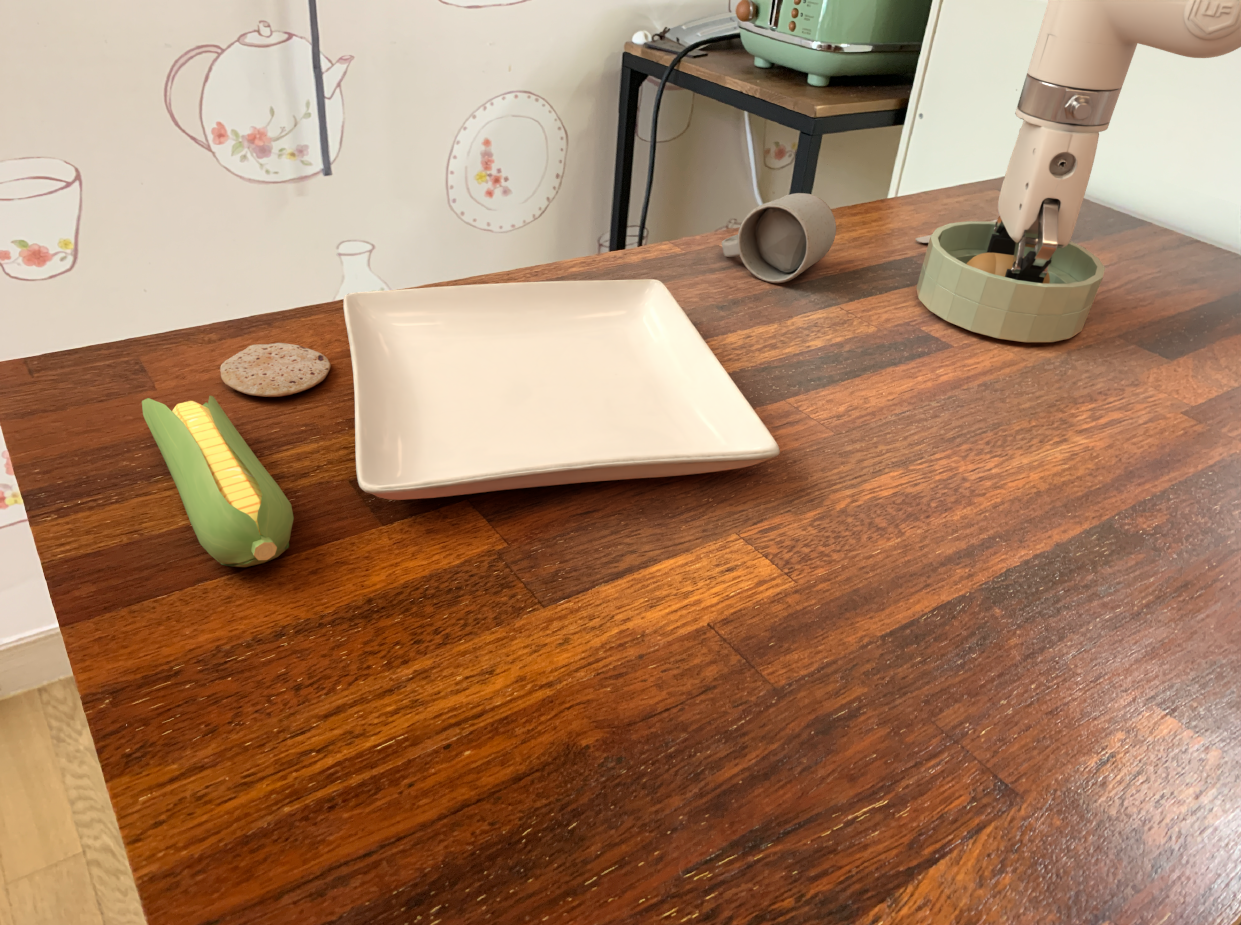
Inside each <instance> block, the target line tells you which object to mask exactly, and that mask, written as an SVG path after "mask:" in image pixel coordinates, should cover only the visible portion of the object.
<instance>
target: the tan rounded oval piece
mask: <svg viewBox="0 0 1241 925" xmlns="http://www.w3.org/2000/svg"><path fill="white" fill-rule="evenodd" d="M1013 257H1014V255H1008V254H1000V253H982V254H979V255H977V256H975V257H973V258H972V259H970V260H969V261H968V262H967V265H969V266H972V267H974V268H977V269H980V270H982V271H985V272H988V273H991V274H995V275H999V276H1003V277H1005V274H1006V271H1007V269H1012V264H1013ZM1023 258H1024V257H1023ZM1043 283H1045V284H1050V277H1049V273H1048V271H1047V274H1046V276H1045V278H1044V281H1043Z"/></svg>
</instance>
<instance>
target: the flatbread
mask: <svg viewBox="0 0 1241 925" xmlns="http://www.w3.org/2000/svg"><path fill="white" fill-rule="evenodd" d="M331 367H332V366H331V361H330V359H328V357H327V356H325V355H324V354H322V353H321V352H319V351H316V350H314V349H311V348H308V347H306V346H302V345H298V344H292V343H286V342H275V343H268V344H266V343H265V344H264V343H259V344H256V343H253V344H250V345H248V346H247V347H246V348H244V349H243V350H241V351H238V353H235V354H234V355H232V356H230V357H229V358H228V359H226V360H224V361H223V362H222V363H221V365H220V367H219V371H220V378H221V380H222V382H223V383H224V385H225V386H228V387H229V388H231V389H233V390H236V391H237V392H240V393H242V394H246V395H248V396H256V397H265V398H266V397H268V398H277V397H286V396H291V395H293V394H297V393H301V392H305V391H306V390H309V389H312V388H314V387H315V386H316V385H319V384H320V383H321V382H323V381H324V380H325V379H326V377H327V376H328V374H329V372H330V370H331Z"/></svg>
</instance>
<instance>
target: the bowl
mask: <svg viewBox="0 0 1241 925" xmlns="http://www.w3.org/2000/svg"><path fill="white" fill-rule="evenodd" d="M990 221H991V220H990ZM990 221H985V220H984V221H983V220H982V221H981V220H965V221H958V222H950V223H946V224H944V225H942V226H939V227H936V228H935V230H934V231H933V232H932V234H930V235H931V236H930V240H929V243H927V247H926V251H925V255H924V258H923V262H922V266H921V270H920V273H919V277H918V280H917V283H916V288H915V290H916V294H917V298H918V300H919V301H920V302H921V303H922V304H923V305H924V306H925V307H926V309H927V310H928V311H930V312H931V313H933V314H935V315H936V316H937V317H939V318H941V319H942V320H944V321H946V322H948V323H950V324H953V325H956V326H957V327H960V328H961V329H965V330H967V331H969V332H972V333H976V334H979V335H983V336H987V337H991V338H994V339H999V340H1006V341H1013V342H1021V343H1055V342H1059V341H1060V342H1061V341H1063V340H1069V339H1072V338H1074V336H1076V335H1077V334H1079V333H1081V332H1082V331H1083V329H1084V326H1085V324H1086V321H1087V319H1088V316H1089V314H1090V311H1091V308H1092V306H1093V304H1094V301H1095V299H1096V296H1097V294H1098V291H1099V288H1100V286H1101V284H1102V281H1103V278H1104V275H1105V270H1106V267H1105V265H1104V264H1103V262H1102V261H1101V259H1100V257H1098V256H1096V255H1095V254H1094V253H1092V252H1091V251H1089V249H1087V248H1085V247H1084V246H1082V245H1080V244H1077V243H1075V242H1073V241H1072V240H1070V243H1069V244H1068V245H1067V246H1066V247H1064V248H1059V247H1057V249H1056V251H1055V252H1054V254H1053V255H1052V258H1051V260H1052V261H1051V264H1049V265H1048V273H1049V277H1050V284H1045V283H1035V282H1028V281H1020V280H1015V279H1011V278H1007V277H1003V276H999V275H995V274H991V273H988V272H985V271H982V270H980V269H977V268H974V267H972V266H969V265H967V262H968V261H969V260H970V259H972V258H973V257H975V256H977V255H979V254H982V253H986V252H987V249H988V246H989V243H990V239H991V236H992V234H997V235H999V234H998V233H994V227H995V223H996V222H990ZM1025 237H1032V238H1038V234H1031V233H1026V234H1025ZM1034 250H1035V248H1031V247H1025V250H1024V256H1023V257H1025V256H1026V254H1028V252H1029V251H1034Z"/></svg>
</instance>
